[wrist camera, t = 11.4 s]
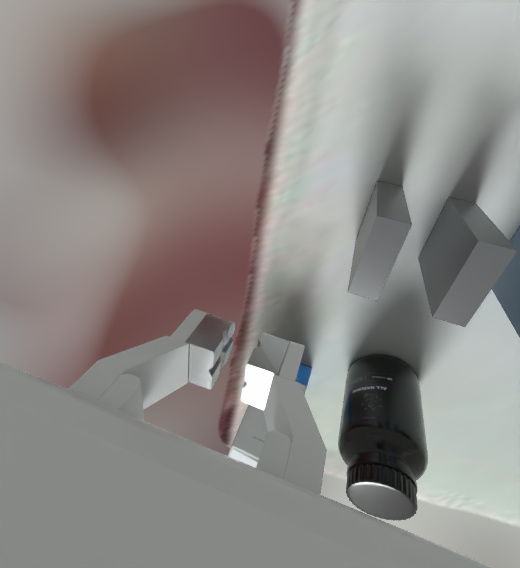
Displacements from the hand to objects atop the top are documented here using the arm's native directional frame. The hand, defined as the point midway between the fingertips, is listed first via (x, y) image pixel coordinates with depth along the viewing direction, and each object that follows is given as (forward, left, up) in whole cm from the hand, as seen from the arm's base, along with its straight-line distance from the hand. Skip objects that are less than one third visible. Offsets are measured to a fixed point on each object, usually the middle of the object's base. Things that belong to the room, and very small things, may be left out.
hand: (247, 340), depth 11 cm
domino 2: (-10, 0, -17) cm, 20 cm away
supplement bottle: (-11, +16, -17) cm, 26 cm away
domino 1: (-5, 0, -17) cm, 18 cm away
